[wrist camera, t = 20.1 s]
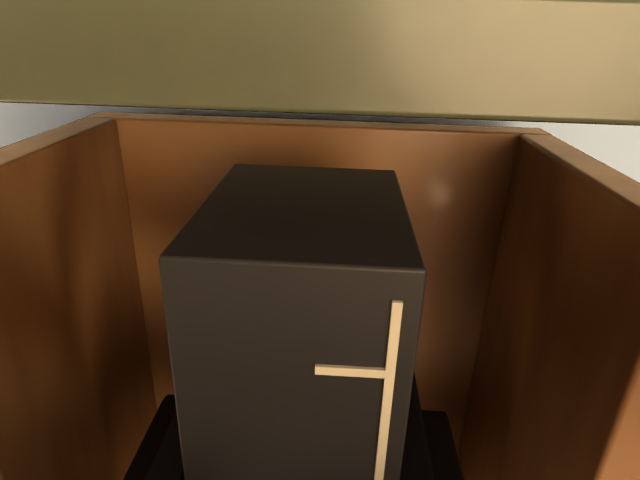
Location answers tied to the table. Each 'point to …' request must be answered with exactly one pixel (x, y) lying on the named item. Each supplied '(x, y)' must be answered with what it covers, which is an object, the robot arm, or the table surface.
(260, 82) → the drawer
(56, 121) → the table surface
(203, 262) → the ruler
